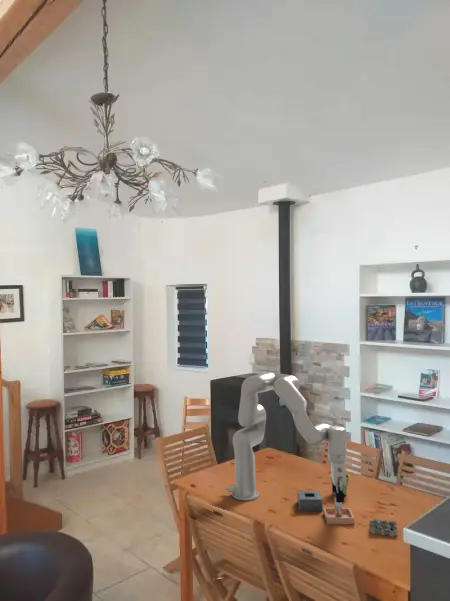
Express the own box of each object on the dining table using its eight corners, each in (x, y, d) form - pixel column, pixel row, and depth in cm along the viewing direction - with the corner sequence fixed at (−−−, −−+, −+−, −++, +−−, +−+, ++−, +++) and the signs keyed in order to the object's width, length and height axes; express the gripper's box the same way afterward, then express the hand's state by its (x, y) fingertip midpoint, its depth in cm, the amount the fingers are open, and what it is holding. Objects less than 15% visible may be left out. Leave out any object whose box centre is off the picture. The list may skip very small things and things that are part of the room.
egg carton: (368, 534, 196) (367, 523, 196) (370, 526, 203) (370, 515, 203) (396, 538, 192) (396, 527, 192) (398, 529, 199) (397, 519, 199)
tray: (327, 524, 204) (326, 517, 205) (323, 513, 215) (323, 507, 215) (354, 524, 204) (354, 518, 204) (349, 513, 214) (349, 508, 214)
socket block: (299, 510, 218) (299, 499, 218) (297, 501, 228) (297, 490, 228) (322, 510, 218) (322, 499, 218) (319, 501, 228) (319, 490, 228)
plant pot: (350, 498, 231) (350, 479, 232) (329, 496, 233) (329, 478, 233) (349, 490, 241) (349, 472, 241) (329, 489, 242) (329, 471, 243)
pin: (344, 519, 207) (343, 494, 207) (334, 519, 207) (333, 494, 208) (342, 515, 211) (341, 491, 211) (333, 515, 211) (332, 491, 212)
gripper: (350, 463, 201) (351, 505, 201) (342, 450, 218) (343, 490, 218) (331, 463, 201) (332, 505, 201) (325, 450, 218) (326, 490, 218)
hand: (338, 497), depth 209 cm, fingers open, 9 cm apart
